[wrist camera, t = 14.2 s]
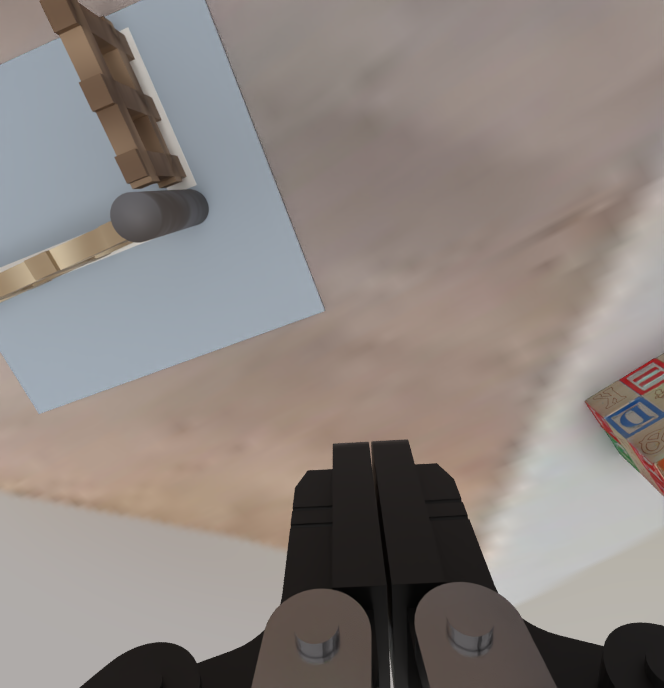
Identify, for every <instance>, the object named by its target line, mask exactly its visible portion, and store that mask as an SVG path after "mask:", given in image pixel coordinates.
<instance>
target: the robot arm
mask: <svg viewBox="0 0 664 688" xmlns="http://www.w3.org/2000/svg"><path fill="white" fill-rule="evenodd" d="M371 450H372V464H371V456H370V448H369V442H356V443H338V444H333V469H328V470H310V471H307V472H306V474H305V475H304V476H303V478H302V479H301V480H300V482H299V483H298V485H297V486H296V487H295V493H294V501H293V511H292V518H291V529H290V535H289V543H288V551H287V560H286V569H285V577H284V585H283V594H282V599H281V604H280V606H279V607H278V608H277V609H276V610H275V611H274V612H273V614H272V615H271V617H270V619H269V620H268V622H267V625H266V628H265V630H264V631H263V632H262V633H261V634H260V635H258V636H257V637H256V638H254V639H253V640H252V641H250V642H248V643H247V644H245V645H244V646H242V647H239V648H237V649H235V650H232V651H230V652H227V653H224V654H222V655H219V656H216V657H213V658H211V659H208V660H205V661H202V662H200V663H196V661H195V659H194V657H193V656H192V655H191V654H190V653H189V652H188V651H187V650H186V649H184V648H183V647H181V646H178V645H176V644H172V643H166V642H156V643H150V644H145V645H142V646H139V647H136V648H134V649H131V650H129V651H127V652H125V653H124V654H122V655H120V656H118V657H117V658H116V659H114V660H113V661H112V662H110V663H109V664H108V665H106V666H105V667H104V668H103V669H102V670H100V671H99V672H98V673H97V674H95V675H94V676H93V677H92V678H91V679H89V680H88V681H87V682H86V683H85V684H84V685H82V686H81V687H80V688H390V662H389V651H390V660H391V668H392V677H393V686H394V688H664V626H662V625H657V624H652V623H630V624H626V625H623V626H620V627H618V628H617V629H615V630H614V631H613V632H612V633H610V634H609V636H608V638H607V639H606V641H605V644H604V646H600V645H596V644H592V643H588V642H584V641H579V640H576V639H572V638H568V637H563V636H560V635H556V634H553V633H550V632H547V631H545V630H542V629H540V628H538V627H536V626H534V625H532V624H530V623H528V622H527V621H525V620H524V619H522V618H521V616H520V614H519V613H518V611H517V610H516V609H515V608H514V606H513V605H512V604H511V603H510V602H509V601H508V600H506V599H505V598H504V597H503V596H501V595H500V594H498V592H497V590H496V587H495V585H494V583H493V580H492V577H491V575H490V572H489V570H488V567H487V564H486V562H485V559H484V557H483V554H482V551H481V549H480V546H479V543H478V541H477V538H476V536H475V533H474V530H473V528H472V525H471V523H470V520H469V519H468V515H467V512H466V510H465V507H464V504H463V502H462V501H461V496H460V494H459V491H458V489H457V486H456V483H455V481H454V479H453V478H452V477H451V476H450V475H449V474H448V473H447V472H446V471H445V470H444V469H442V468H441V467H440V466H439V465H438V464H437V463H435V464H417V465H415V464H414V460H413V456H412V453H411V449H410V445H409V442H408V440H389V441H372V442H371Z"/></svg>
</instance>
